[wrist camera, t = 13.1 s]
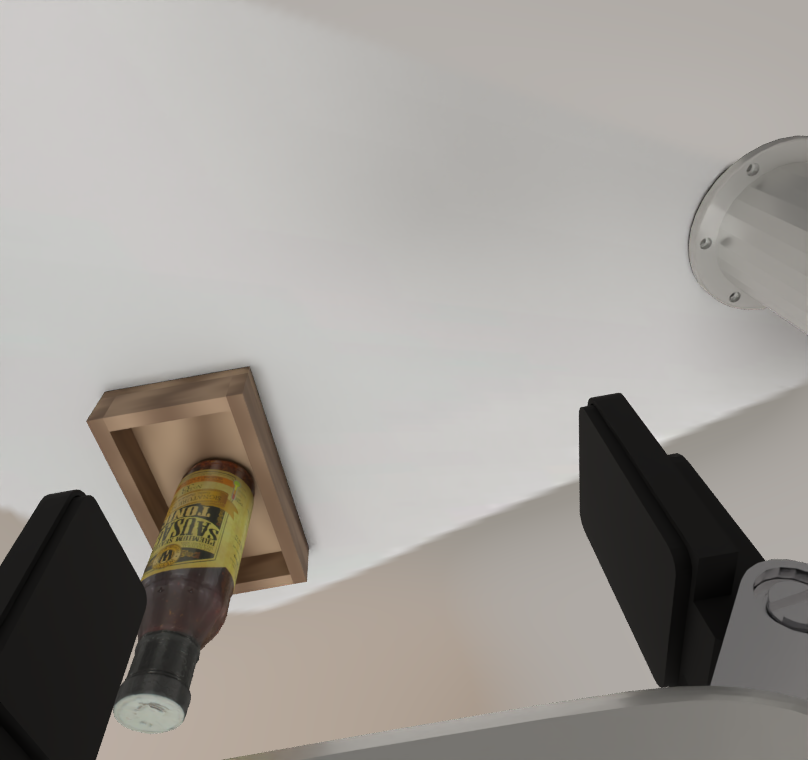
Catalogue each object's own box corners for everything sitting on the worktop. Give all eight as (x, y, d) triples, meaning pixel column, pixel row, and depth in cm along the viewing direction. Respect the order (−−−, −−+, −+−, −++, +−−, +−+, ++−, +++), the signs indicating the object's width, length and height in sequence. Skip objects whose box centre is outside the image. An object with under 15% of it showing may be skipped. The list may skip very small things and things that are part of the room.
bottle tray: (249, 366, 48) (242, 393, 44) (308, 547, 58) (306, 581, 54) (104, 392, 48) (86, 421, 44) (189, 568, 58) (180, 603, 54)
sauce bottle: (237, 445, 50) (183, 667, 33) (268, 499, 53) (233, 727, 36) (163, 468, 50) (72, 698, 33) (198, 520, 54) (131, 755, 37)
